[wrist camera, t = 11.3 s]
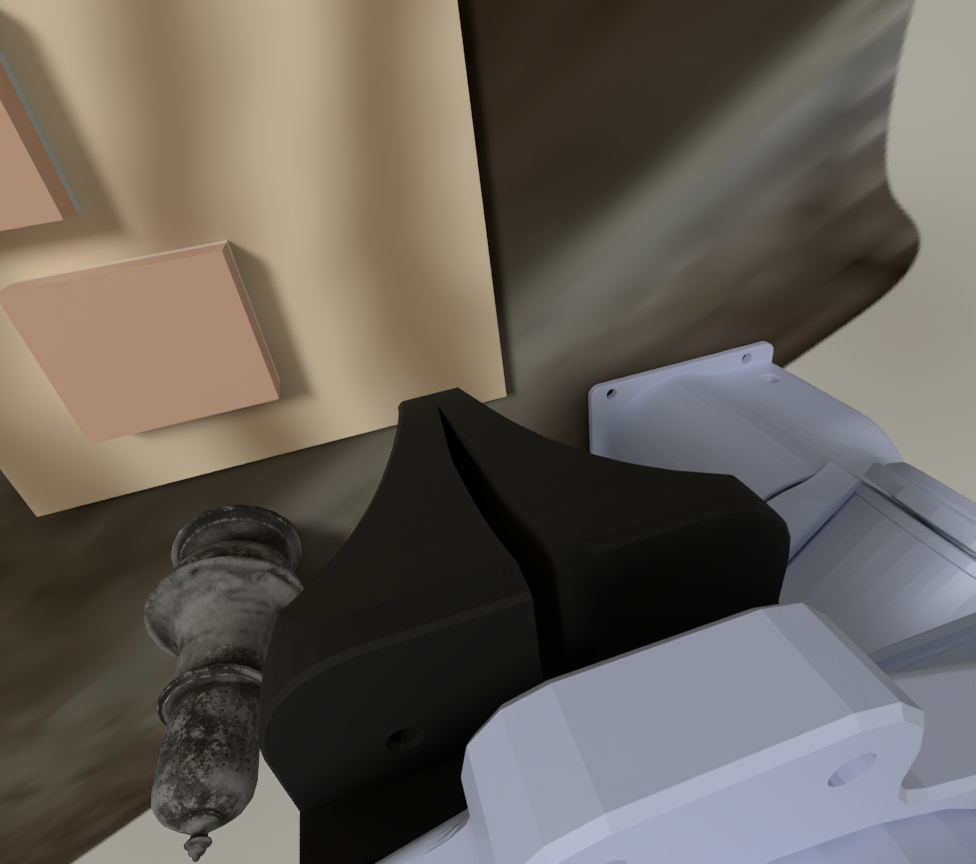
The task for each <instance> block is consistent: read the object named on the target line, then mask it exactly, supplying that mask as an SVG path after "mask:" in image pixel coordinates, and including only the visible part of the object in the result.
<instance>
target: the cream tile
mask: <svg viewBox="0 0 976 864" xmlns="http://www.w3.org/2000/svg"><path fill="white" fill-rule="evenodd" d="M0 304H1V306H2V307H3V309H4V310H5V312H6V314H7V315H8V317H9V318H10V320H11V321H12V323H13V325H14V326H15V328H16V329H17V331H18V332H19V334H20V336H21V337H22V339H23V340H24V342H25V343H26V345H27V347H28V348H29V350H30V351H31V353H32V354H33V356H34V358H35V359H36V361H37V362H38V364H39V365H40V367H41V369H42V370H43V372H44V373H45V375H46V376H47V378H48V380H49V381H50V383H51V384H52V386H53V387H54V389H55V391H56V392H57V394H58V395H59V397H60V398H61V400H62V402H63V403H64V405H65V406H66V408H67V409H68V411H69V413H70V414H71V416H72V417H73V419H74V420H75V422H76V424H77V425H78V427H79V428H80V430H81V431H82V433H83V435H84V436H85V438H86V439H87V441H88V442H89V444H94V443H98V442H102V441H106V440H110V439H115V438H119V437H123V436H127V435H131V434H135V433H140V432H144V431H148V430H152V429H156V428H160V427H165V426H169V425H173V424H177V423H181V422H185V421H190V420H194V419H198V418H202V417H206V416H210V415H215V414H219V413H223V412H227V411H231V410H235V409H240V408H244V407H248V406H252V405H256V404H260V403H265V402H269V401H273V400H277V399H279V394H280V382H281V380H280V378H279V375H278V372H277V370H276V367H275V364H274V362H273V359H272V356H271V354H270V351H269V348H268V346H267V343H266V340H265V338H264V335H263V332H262V330H261V327H260V324H259V322H258V319H257V316H256V314H255V311H254V308H253V306H252V303H251V300H250V298H249V295H248V292H247V290H246V287H245V285H244V282H243V279H242V277H241V274H240V271H239V269H238V266H237V263H236V261H235V258H234V255H233V253H232V250H231V247H230V245H229V242H228V240H225V241H219V242H214V243H209V244H204V245H198V246H193V247H188V248H183V249H177V250H172V251H167V252H161V253H156V254H151V255H146V256H140V257H135V258H130V259H125V260H119V261H114V262H109V263H103V264H98V265H93V266H88V267H82V268H77V269H72V270H67V271H61V272H56V273H51V274H45V275H40V276H35V277H30V278H24V279H19V280H17V281H15V282H14V283H12V284H10V285H9V286H7V287H6V288H4V289H2V290H1V291H0Z"/></svg>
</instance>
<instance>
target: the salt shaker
mask: <svg viewBox="0 0 976 864" xmlns="http://www.w3.org/2000/svg"><path fill="white" fill-rule="evenodd" d="M301 555H302V546H301V539H300V537H299V535H298V533H297V531H296V529H295V528H294V527H293V526H292V525H291V524H290V523H289V522H288V521H287V520H286V519H285V518H283V517H281V516H279V515H278V514H276V513H274V512H272V511H269V510H266V509H263V508H260V507H255V506H245V505H234V506H224V507H219V508H216V509H212V510H209V511H206V512H204V513H202V514H200V515H198V516H196V517H195V518H193V519H191V520H190V521H189V522H188V523H187V524H186V525H185V526H184V527H183V528H182V529H180V530H179V532H178V534H177V536H176V538H175V540H174V542H173V545H172V553H171V559H172V563H173V566H174V569H173V570H172V571H171V572H170V573H169V574H168V575H167V576H166V577H165V578H164V579H163V580H162V581H161V582H160V583H159V584H158V585H157V586H156V587H155V588H154V589H153V591H152V593H151V594H150V596H149V598H148V600H147V602H146V604H145V612H144V622H145V625H146V629H147V632H148V634H149V636H150V637H151V638H152V639H153V640H154V642H155V643H156V644H157V645H158V646H159V647H160V648H161V649H163V650H164V651H166V652H167V653H169V654H171V655H172V656H174V657H176V658H178V662H177V666H176V671H175V675H174V680H173V681H172V682H171V683H170V684H169V685H168V686H166V687H165V688H164V690H163V692H162V693H161V695H160V697H159V699H158V705H157V712H158V715H159V718H160V720H161V721H162V722H163V723H164V724H165V725H166V728H165V733H164V737H163V742H162V746H161V751H160V756H159V760H158V765H157V769H156V774H155V778H154V783H153V787H152V794H151V808H152V810H153V813H154V815H155V816H156V818H157V819H158V821H159V822H160V823H161V824H162V825H163V826H164V827H167V828H169V829H171V830H174V831H176V832H179V833H185V834H188V835H191V837H190V839H189V840H188V841H186V843H185V844H184V849H185V850H187V851H188V855H189V856H190V857H192V860H193V861H194V862H197V861H198V860H199V859H200V856H202V855H203V854H204V853H205V851H206V849H207V848H208V847H209V846H210V845H211V844H212V839H211V838H210V837H208V833H209V832H211V831H213V830H215V829H218V828H220V827H222V826H223V825H225V824H227V823H228V822H230V821H232V820H233V819H235V818H236V817H237V816H238V815H239V814H241V813H242V811H243V810H244V809H245V808H246V806H247V805H248V804H249V802H250V801H251V799H252V798H253V795H254V791H255V788H256V785H257V781H258V768H259V752H260V747H259V745H258V726H259V709H260V692H261V682H262V676H263V669H264V665H265V661H266V656H267V651H268V647H269V643H270V639H271V635H272V631H273V627H274V624H275V620H276V617H277V615H278V613H279V612H281V611H282V610H283V609H284V608H285V607H286V606H287V605H288V604H289V603H290V602H291V601H292V600H294V599H295V598H296V597H297V596H298V595H299V594H300V593H301V592H302V591H303V590H304V589H305V588H304V586H303V584H302V582H301V581H300V580H299V578H298V576H297V575H296V573H295V570H296V569H297V567H298V566H299V563H300V559H301Z"/></svg>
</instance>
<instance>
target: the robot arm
mask: <svg viewBox="0 0 976 864" xmlns="http://www.w3.org/2000/svg"><path fill="white" fill-rule="evenodd" d="M745 354H746V356H745V357H744V359H742V358H743V356H744V355H745ZM772 356H773V346H772V345H771V344H769V343H767V342H765V341H761V342H757V343H754V344H750V345H746V346H742V347H738V348H734V349H730V350H727V351H723V352H719V353H715V354H711V355H707V356H704V357H700V358H696V359H692V360H688V361H684V362H681V363H677V364H673V365H669V366H665V367H661V368H657V369H654V370H650V371H646V372H642V373H638V374H634V375H631V376H627V377H623V378H619V379H615V380H611V381H608V382H604V383H600V384H597V385H595V386H593V387H592V388H591V390H590V391H589V395H588V404H589V436H590V453H588V452H585V451H581V450H578V449H575V448H572V447H570V446H567V445H564V444H561V443H559V442H556V441H553V440H551V439H548V438H546V437H544V436H541V435H539V434H537V433H535V432H533V431H531V430H529V429H527V428H524V427H522V426H520V425H518V424H517V423H515V422H513V421H511V420H509V419H507V418H506V417H504V416H502V415H500V414H499V413H497V412H495V411H494V410H492V409H491V408H489V407H487V406H486V405H484V404H483V403H481V402H480V401H478V400H477V399H475V398H474V397H472V396H471V395H469V394H468V393H466V392H465V391H463V390H461V389H460V388H458V387H457V388H453V389H449V390H445V391H441V392H437V393H433V394H429V395H425V396H421V397H417V398H413V399H409V400H405V401H402V402H401V403H400V405H399V406H398V411H399V416H398V425H397V431H396V436H395V440H394V444H393V448H392V452H391V455H390V458H389V461H388V463H387V466H386V469H385V472H384V474H383V477H382V480H381V482H380V484H379V486H378V489H377V491H376V493H375V495H374V497H373V499H372V501H371V503H370V505H369V507H368V508H367V510H366V512H365V514H364V515H363V517H362V518H361V520H360V522H359V523H358V525H357V527H356V528H355V530H354V531H353V533H352V534H351V536H350V537H349V539H348V540H347V541H346V543H345V544H344V545H343V547H342V548H341V549H340V550H339V552H338V553H337V554H336V555H335V557H334V558H333V559H332V560H331V562H330V563H329V564H328V565H327V566H326V567H325V568H324V570H323V571H322V572H321V573H320V574H319V575H318V576H317V577H316V578H315V579H314V580H313V581H312V582H311V583H310V584H309V585H308V586H307V587H306V588H305V589H304V590H303V591H302V592H301V593H300V594H299V595H298V596H297V597H296V598H295V599H294V600H292V601H291V602H290V603H289V604H288V605H287V606H286V607H285V608H284V609H283V610H282V611H281V612H279V613H278V615H277V617H276V620H275V624H274V627H273V631H272V635H271V639H270V643H269V647H268V651H267V656H266V661H265V665H264V669H263V676H262V682H261V692H260V709H259V726H258V745H259V747H260V750H261V752H262V755H263V757H264V760H265V761H266V763H267V764H268V766H269V767H270V769H271V770H272V772H273V773H274V774H275V776H276V777H277V779H278V780H279V782H280V783H281V785H282V786H283V788H284V789H285V791H286V792H287V793H288V795H289V796H290V798H291V799H292V801H293V802H294V804H295V805H296V806H297V808H298V809H299V811H300V864H976V503H974V502H972V501H971V500H969V499H968V498H966V497H964V496H963V495H961V494H959V493H958V492H956V491H954V490H952V489H951V488H949V487H948V486H946V485H944V484H943V483H941V482H939V481H937V480H936V479H934V478H932V477H930V476H929V475H927V474H925V473H924V472H922V471H920V470H919V469H917V468H915V467H913V466H911V465H909V464H907V463H905V462H903V460H902V457H901V455H900V453H899V452H898V450H897V448H896V447H895V445H894V444H893V442H892V441H891V439H890V438H889V437H888V435H887V434H886V433H885V432H884V431H883V430H882V429H881V428H880V427H879V426H878V425H877V424H876V423H875V422H874V421H873V420H871V419H870V418H869V417H867V416H866V415H864V414H862V413H861V412H859V411H857V410H856V409H854V408H852V407H850V406H848V405H846V404H845V403H843V402H841V401H839V400H838V399H836V398H834V397H832V396H830V395H829V394H827V393H825V392H823V391H822V390H820V389H818V388H816V387H814V386H812V385H811V384H809V383H807V382H806V381H804V380H802V379H800V378H798V377H797V376H795V375H793V374H791V373H789V372H787V371H786V370H784V369H782V368H781V367H779V366H777V365H775V364H773V363H772ZM611 389H613V392H612V393H611V394H610V395H608V396H606V395H607V392H608V391H609V390H611Z"/></svg>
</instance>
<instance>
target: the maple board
mask: <svg viewBox="0 0 976 864" xmlns="http://www.w3.org/2000/svg"><path fill="white" fill-rule="evenodd" d="M0 48H1V50H2V52H3V54H4V56H5V58H6V60H7V62H8V64H9V66H10V68H11V70H12V72H13V74H14V76H15V78H16V80H17V82H18V84H19V86H20V88H21V90H22V92H23V94H24V96H25V98H26V100H27V102H28V104H29V106H30V108H31V110H32V112H33V114H34V116H35V118H36V120H37V122H38V124H39V126H40V128H41V130H42V132H43V134H44V136H45V138H46V140H47V142H48V144H49V146H50V148H51V150H52V152H53V154H54V156H55V158H56V159H57V161H58V163H59V165H60V167H61V169H62V171H63V173H64V175H65V177H66V179H67V181H68V183H69V185H70V187H71V189H72V191H73V193H74V195H75V197H76V199H77V201H78V203H79V205H80V207H81V209H82V211H80V212H78V213H76V214H74V215H72V216H70V217H68V218H66V219H64V220H60V221H55V222H49V223H43V224H37V225H32V226H26V227H20V228H15V229H9V230H3V231H0V291H1V290H2V289H4V288H6V287H7V286H9V285H10V284H12V283H14V282H15V281H17V280H19V279H24V278H30V277H35V276H40V275H45V274H51V273H56V272H61V271H67V270H72V269H77V268H82V267H88V266H93V265H98V264H103V263H109V262H114V261H119V260H125V259H130V258H135V257H140V256H146V255H151V254H156V253H161V252H167V251H172V250H177V249H183V248H188V247H193V246H198V245H204V244H209V243H214V242H219V241H225V240H228V242H229V245H230V247H231V250H232V253H233V255H234V258H235V261H236V263H237V266H238V269H239V271H240V274H241V277H242V279H243V282H244V285H245V287H246V290H247V292H248V295H249V298H250V300H251V303H252V306H253V308H254V311H255V314H256V316H257V319H258V322H259V324H260V327H261V330H262V332H263V335H264V338H265V340H266V343H267V346H268V348H269V351H270V354H271V356H272V359H273V362H274V364H275V367H276V370H277V372H278V375H279V378H280V380H281V382H280V394H279V399H277V400H273V401H269V402H265V403H260V404H256V405H252V406H248V407H244V408H240V409H235V410H231V411H227V412H223V413H219V414H215V415H210V416H206V417H202V418H198V419H194V420H190V421H185V422H181V423H177V424H173V425H169V426H165V427H160V428H156V429H152V430H148V431H144V432H140V433H135V434H131V435H127V436H123V437H119V438H115V439H110V440H106V441H102V442H98V443H94V444H89V442H88V441H87V439H86V438H85V436H84V435H83V433H82V431H81V430H80V428H79V427H78V425H77V424H76V422H75V420H74V419H73V417H72V416H71V414H70V413H69V411H68V409H67V408H66V406H65V405H64V403H63V402H62V400H61V398H60V397H59V395H58V394H57V392H56V391H55V389H54V387H53V386H52V384H51V383H50V381H49V380H48V378H47V376H46V375H45V373H44V372H43V370H42V369H41V367H40V365H39V364H38V362H37V361H36V359H35V358H34V356H33V354H32V353H31V351H30V350H29V348H28V347H27V345H26V343H25V342H24V340H23V339H22V337H21V336H20V334H19V332H18V331H17V329H16V328H15V326H14V325H13V323H12V321H11V320H10V318H9V317H8V315H7V314H6V312H5V310H4V309H3V307H2V306H1V304H0V469H1V471H2V472H3V473H4V474H5V476H6V477H7V478H8V480H9V481H10V482H11V484H12V485H13V486H14V488H15V489H16V490H17V491H18V493H19V494H20V495H21V497H22V498H23V499H24V501H25V502H26V503H27V504H28V506H29V507H30V508H31V510H32V511H33V512H34V514H35V515H36V516H37V517H38V516H42V515H46V514H50V513H54V512H58V511H62V510H66V509H70V508H74V507H77V506H81V505H85V504H89V503H93V502H97V501H101V500H105V499H109V498H112V497H116V496H120V495H124V494H128V493H132V492H136V491H140V490H144V489H148V488H151V487H155V486H159V485H163V484H167V483H171V482H175V481H179V480H183V479H187V478H190V477H194V476H198V475H202V474H206V473H210V472H214V471H218V470H222V469H225V468H229V467H233V466H237V465H241V464H245V463H249V462H253V461H257V460H261V459H264V458H268V457H272V456H276V455H280V454H284V453H288V452H292V451H296V450H300V449H303V448H307V447H311V446H315V445H319V444H323V443H327V442H331V441H335V440H338V439H342V438H346V437H350V436H354V435H358V434H362V433H366V432H370V431H374V430H377V429H381V428H385V427H389V426H393V425H397V424H398V416H399V411H398V406H399V405H400V403H401V402H402V401H405V400H409V399H413V398H417V397H421V396H425V395H429V394H433V393H437V392H441V391H445V390H449V389H453V388H457V387H458V388H460V389H461V390H463V391H465V392H466V393H468V394H469V395H471V396H472V397H474V398H475V399H477V400H478V401H480V402H481V403H483V402H487V401H490V400H494V399H498V398H502V397H506V396H507V395H506V387H505V379H504V371H503V363H502V355H501V347H500V339H499V331H498V323H497V315H496V307H495V299H494V291H493V283H492V275H491V267H490V259H489V251H488V243H487V235H486V227H485V219H484V211H483V203H482V195H481V187H480V179H479V170H478V162H477V154H476V146H475V138H474V130H473V122H472V114H471V106H470V98H469V90H468V82H467V74H466V66H465V58H464V50H463V42H462V34H461V26H460V18H459V10H458V2H457V0H0Z"/></svg>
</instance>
